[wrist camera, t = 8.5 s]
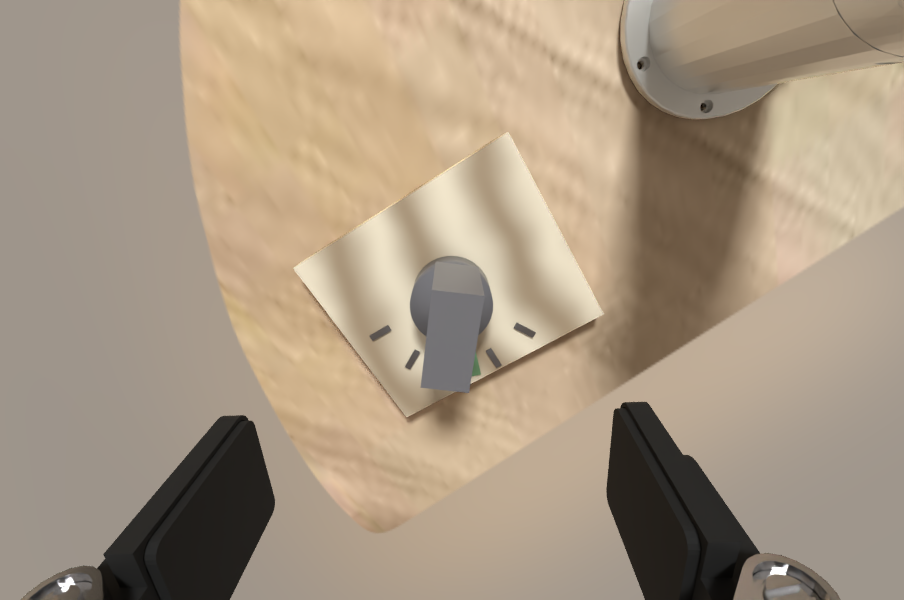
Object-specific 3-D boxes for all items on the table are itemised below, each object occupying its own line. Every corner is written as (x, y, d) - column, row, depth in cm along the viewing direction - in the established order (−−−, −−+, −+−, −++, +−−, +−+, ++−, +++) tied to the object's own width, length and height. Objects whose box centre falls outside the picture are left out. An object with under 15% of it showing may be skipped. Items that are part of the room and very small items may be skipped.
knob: (417, 248, 33) (405, 286, 24) (495, 258, 33) (510, 299, 25) (404, 377, 37) (390, 448, 28) (474, 385, 37) (481, 458, 28)
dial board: (505, 132, 32) (508, 132, 30) (596, 305, 37) (604, 315, 35) (301, 261, 36) (292, 269, 34) (408, 404, 40) (406, 418, 38)
